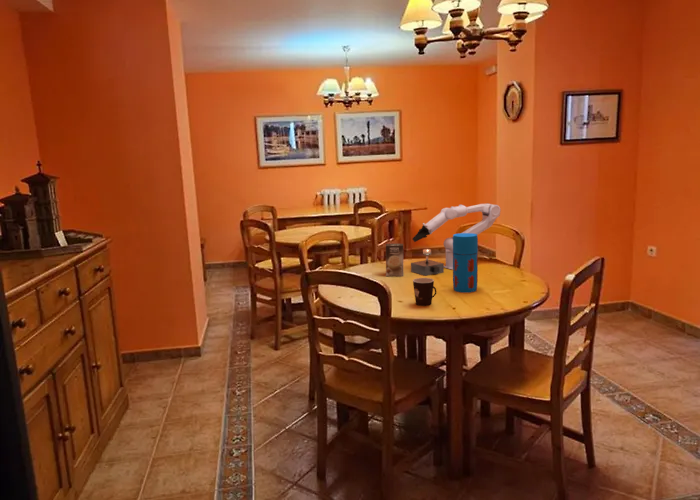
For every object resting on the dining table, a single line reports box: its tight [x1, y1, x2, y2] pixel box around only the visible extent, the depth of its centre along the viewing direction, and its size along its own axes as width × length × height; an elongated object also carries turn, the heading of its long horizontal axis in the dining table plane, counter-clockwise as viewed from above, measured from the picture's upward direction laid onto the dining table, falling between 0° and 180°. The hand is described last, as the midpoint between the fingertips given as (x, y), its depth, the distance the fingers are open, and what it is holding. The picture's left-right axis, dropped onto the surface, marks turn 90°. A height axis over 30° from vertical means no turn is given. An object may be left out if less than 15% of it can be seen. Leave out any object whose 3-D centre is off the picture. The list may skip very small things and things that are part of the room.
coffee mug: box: [412, 277, 437, 307], centre depth 211 cm, size 12×9×10 cm
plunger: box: [422, 248, 432, 264], centre depth 268 cm, size 4×4×8 cm
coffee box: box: [385, 243, 404, 277], centre depth 264 cm, size 9×6×16 cm
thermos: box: [452, 232, 479, 294], centre depth 231 cm, size 11×11×25 cm
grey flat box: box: [410, 259, 445, 277], centre depth 268 cm, size 12×14×5 cm
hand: (414, 239), depth 269 cm, fingers open, 7 cm apart
